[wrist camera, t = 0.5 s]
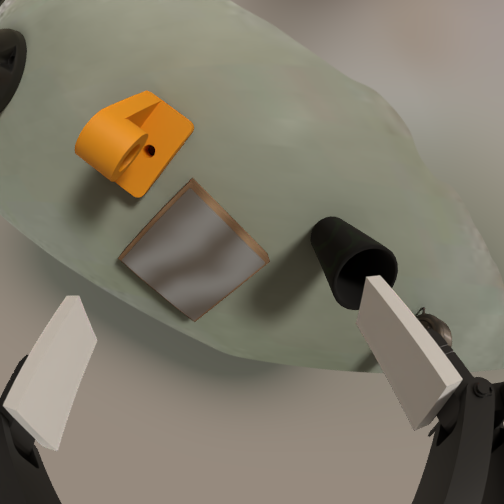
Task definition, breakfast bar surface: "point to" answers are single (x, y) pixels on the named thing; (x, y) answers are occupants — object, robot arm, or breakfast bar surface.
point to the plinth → (194, 252)
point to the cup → (350, 259)
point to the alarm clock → (435, 325)
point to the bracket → (133, 141)
